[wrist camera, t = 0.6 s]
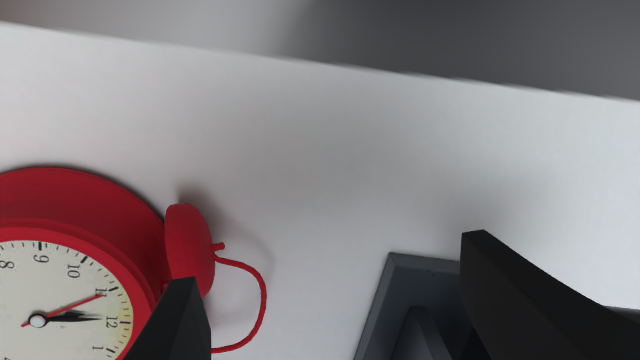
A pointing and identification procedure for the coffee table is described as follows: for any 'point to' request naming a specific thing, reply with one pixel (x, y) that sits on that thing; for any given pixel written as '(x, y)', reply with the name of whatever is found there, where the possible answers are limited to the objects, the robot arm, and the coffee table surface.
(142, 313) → the alarm clock
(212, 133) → the coffee table surface
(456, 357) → the bracket
